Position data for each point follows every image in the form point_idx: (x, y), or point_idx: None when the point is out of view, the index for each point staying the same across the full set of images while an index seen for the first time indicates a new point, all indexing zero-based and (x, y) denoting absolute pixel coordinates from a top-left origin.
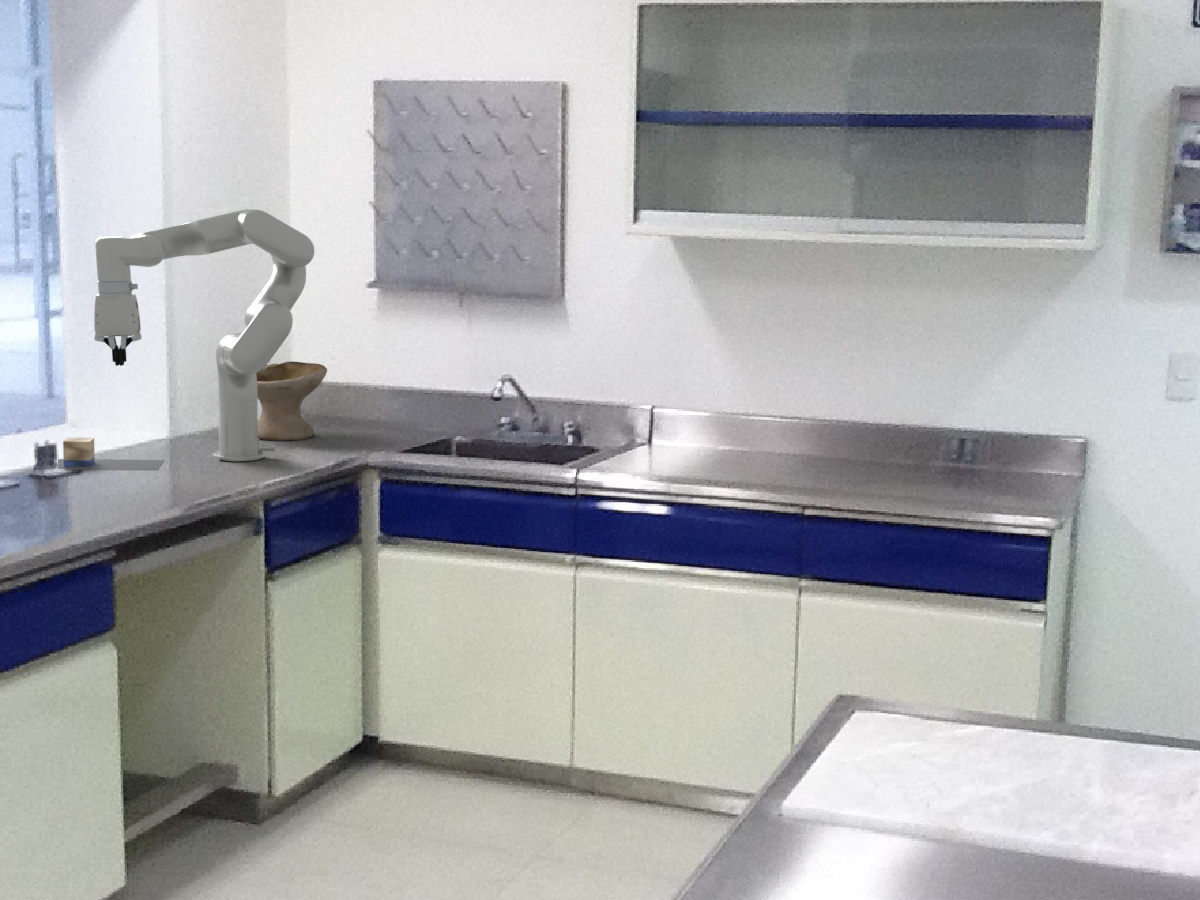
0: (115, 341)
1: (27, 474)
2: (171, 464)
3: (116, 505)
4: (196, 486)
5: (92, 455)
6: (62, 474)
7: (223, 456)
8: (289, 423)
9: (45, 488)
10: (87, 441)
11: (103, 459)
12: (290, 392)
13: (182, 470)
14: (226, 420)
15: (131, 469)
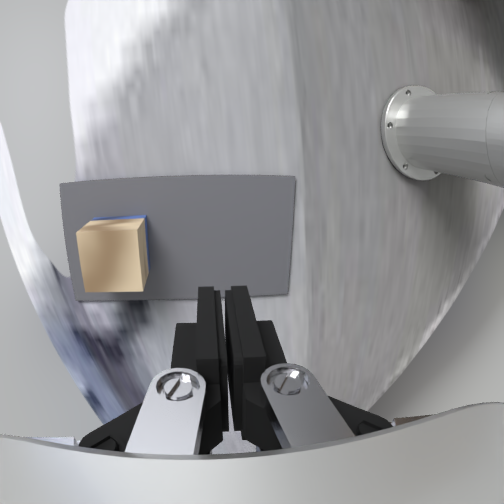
0: (197, 434)
1: (66, 324)
2: (307, 204)
3: None
4: (341, 381)
5: (145, 246)
6: (119, 323)
7: (402, 169)
8: None
9: None
10: (136, 287)
11: (158, 178)
12: None
13: (328, 268)
14: (456, 170)
15: None
